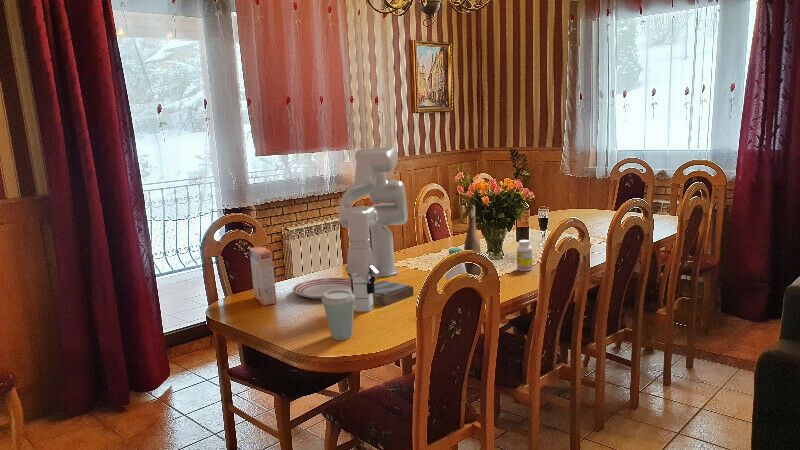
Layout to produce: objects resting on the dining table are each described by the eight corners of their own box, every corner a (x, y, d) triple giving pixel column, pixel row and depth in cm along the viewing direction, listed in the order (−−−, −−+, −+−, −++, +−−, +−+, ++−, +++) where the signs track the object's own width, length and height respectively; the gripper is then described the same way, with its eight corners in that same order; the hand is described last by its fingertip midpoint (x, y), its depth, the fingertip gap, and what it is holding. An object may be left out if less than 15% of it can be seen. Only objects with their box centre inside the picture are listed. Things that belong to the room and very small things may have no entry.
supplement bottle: (516, 267, 264) (515, 239, 262) (531, 267, 264) (530, 238, 262) (518, 271, 258) (517, 242, 255) (533, 271, 257) (533, 242, 255)
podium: (355, 299, 232) (355, 289, 231) (384, 289, 243) (383, 279, 242) (385, 306, 221) (384, 295, 220) (413, 295, 232) (413, 285, 232)
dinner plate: (339, 280, 262) (338, 272, 261) (373, 292, 240) (373, 284, 239) (281, 293, 246) (281, 285, 245) (313, 308, 224) (312, 299, 224)
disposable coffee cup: (363, 332, 194) (360, 288, 192) (348, 344, 185) (344, 298, 182) (335, 329, 199) (332, 286, 196) (318, 341, 189) (314, 296, 186)
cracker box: (277, 303, 232) (272, 251, 228) (262, 306, 229) (257, 253, 225) (268, 295, 244) (263, 245, 240) (253, 297, 241) (248, 247, 238)
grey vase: (456, 283, 246) (453, 207, 239) (463, 275, 257) (460, 202, 250) (483, 285, 242) (480, 208, 235) (488, 276, 253) (486, 202, 246)
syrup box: (370, 312, 215) (367, 273, 212) (354, 311, 216) (351, 273, 214) (374, 306, 221) (371, 269, 218) (358, 306, 222) (356, 269, 219)
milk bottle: (446, 304, 219) (443, 251, 215) (447, 298, 226) (445, 246, 223) (467, 304, 217) (465, 251, 214) (467, 297, 225) (465, 246, 221)
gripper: (335, 243, 217) (339, 290, 220) (369, 248, 206) (372, 297, 209) (350, 240, 223) (354, 285, 226) (384, 244, 211) (387, 292, 214)
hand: (363, 291), depth 217 cm, fingers closed on syrup box, 7 cm apart
